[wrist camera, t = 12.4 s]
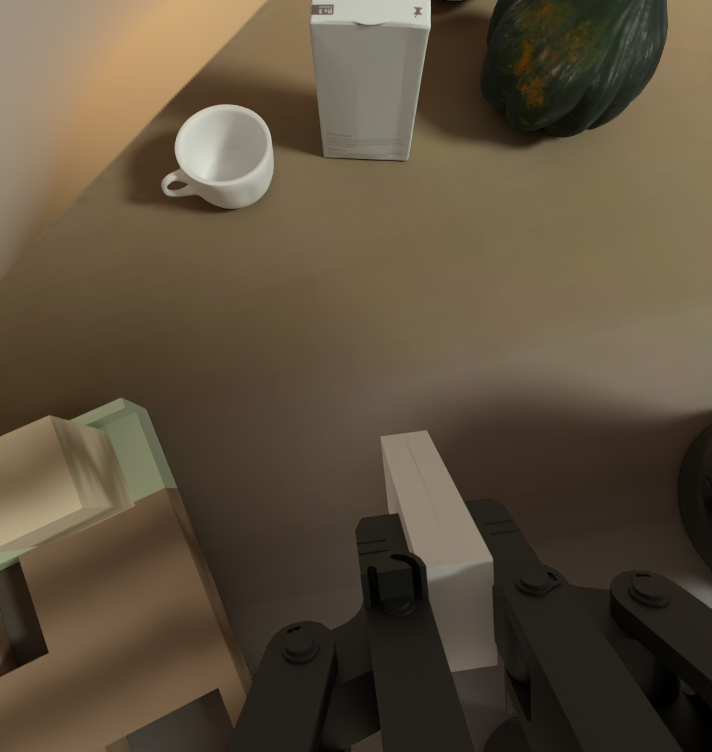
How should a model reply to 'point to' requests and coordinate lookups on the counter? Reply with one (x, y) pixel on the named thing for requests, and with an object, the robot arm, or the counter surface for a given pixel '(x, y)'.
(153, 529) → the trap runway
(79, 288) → the counter surface
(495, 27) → the squash
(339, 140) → the skincare box
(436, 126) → the counter surface
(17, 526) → the maple block
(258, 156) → the teacup
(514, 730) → the travel mug
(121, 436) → the pad
